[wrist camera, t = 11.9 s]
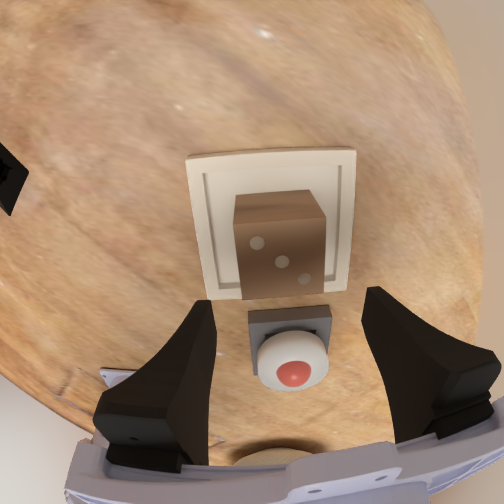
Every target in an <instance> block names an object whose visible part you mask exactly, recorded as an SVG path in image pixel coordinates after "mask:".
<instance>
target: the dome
mask: <svg viewBox="0 0 504 504" xmlns="http://www.w3.org/2000/svg"><path fill="white" fill-rule="evenodd" d="M257 363H258V377H259V380H260V381H261V383H262V384H263V385H265V386H266V387H268V388H270V389H273V390H276V391H282V392H294V391H300V390H304V389H307V388H310V387H312V386H314V385H315V384H317V383H318V382H320V381H321V380H322V379H323V378H324V377H325V376H326V374H327V372H328V370H329V362H328V358H327V354H326V350H325V346H324V343H323V342H322V340H321V339H320V338H319V337H318V336H316V335H314V334H312V333H310V332H306V331H297V330H296V331H286V332H282V333H279V334H276V335H274V336H272V337H270V338H269V339H267V340H266V341H265V342H264V343H263V344H262V345H261V346H260V348H259V350H258V353H257Z"/></svg>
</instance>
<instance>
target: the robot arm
mask: <svg viewBox="0 0 504 504" xmlns="http://www.w3.org/2000/svg"><path fill="white" fill-rule="evenodd" d="M361 322H362V325H363V329H364V333H365V336H366V339H367V342H368V344H369V347H370V349H371V352H372V354H373V356H374V359H375V361H376V363H377V366H378V368H379V371H380V373H381V376H382V379H383V382H384V385H385V389H386V393H387V397H388V401H389V406H390V411H391V416H392V422H393V428H394V435H395V444H394V443H391V442H387V441H385V442H378V443H373V444H368V445H363V446H359V447H354V448H348V449H343V450H337V451H331V452H324V453H317V454H312V455H307V456H303V457H300V458H298V459H295V460H293V461H292V462H290V463H288V464H276V465H259V466H209V460H208V415H209V395H210V388H211V381H212V375H213V369H214V363H215V357H216V345H217V331H216V326H215V321H214V315H213V310H212V305H211V300H197V301H196V302H195V304H194V305H193V307H192V309H191V310H190V312H189V313H188V315H187V316H186V318H185V319H184V321H183V322H182V324H181V325H180V326H179V328H178V329H177V330H176V332H175V333H174V334H173V336H172V337H171V338H170V339H169V340H168V342H167V343H166V344H165V345H164V346H163V347H162V349H161V350H160V351H159V352H158V353H157V354H156V355H155V356H154V357H153V358H152V359H151V360H150V361H148V362H147V363H146V364H145V365H144V366H143V367H141V368H140V369H139V370H138V371H126V370H112V369H100V371H99V373H100V375H101V376H102V378H103V380H104V381H105V383H106V384H107V386H108V387H109V389H108V390H106V391H104V392H103V393H102V395H101V397H100V399H99V402H98V405H97V407H96V410H95V413H94V416H93V424H94V425H95V427H96V429H95V432H94V435H93V438H92V439H91V440H89V439H87V438H85V439H84V440H80V441H79V442H78V444H77V446H76V449H75V452H74V455H73V458H72V461H71V465H70V468H69V472H68V476H67V480H66V484H65V492H64V494H65V497H66V502H67V503H68V504H431V502H430V499H429V496H430V495H433V494H435V493H437V492H439V491H442V490H444V489H446V488H448V487H450V486H452V485H454V484H456V483H458V482H460V481H462V480H464V479H466V478H468V477H470V476H472V475H473V474H475V473H477V472H479V471H481V470H483V469H484V468H486V467H488V466H490V465H491V464H493V463H495V462H496V461H498V460H500V459H501V458H503V457H504V396H503V397H501V398H499V399H497V400H496V401H494V402H493V403H492V404H491V403H490V401H489V399H490V397H491V394H490V392H489V391H488V390H489V389H490V387H491V386H492V384H493V383H494V381H495V380H496V378H497V377H498V375H499V373H500V371H501V363H500V361H499V360H498V359H497V357H496V355H495V354H494V352H493V351H491V350H487V349H484V348H480V347H477V346H474V345H471V344H468V343H465V342H463V341H460V340H458V339H456V338H454V337H452V336H450V335H447V334H445V333H444V332H442V331H440V330H438V329H437V328H435V327H433V326H431V325H430V324H428V323H427V322H425V321H424V320H422V319H421V318H419V317H418V316H417V315H415V314H414V313H412V312H411V311H410V310H409V309H407V308H406V307H405V306H403V305H402V304H401V303H400V302H398V301H397V300H396V299H395V298H394V297H392V296H391V295H390V294H389V293H387V292H386V291H385V290H384V289H382V288H381V287H380V286H376V287H367V292H366V298H365V303H364V309H363V314H362V319H361Z"/></svg>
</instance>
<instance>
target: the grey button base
mask: <svg viewBox="0 0 504 504" xmlns="http://www.w3.org/2000/svg"><path fill="white" fill-rule="evenodd" d="M331 323H332V314H331V311H330V308H329V305H322V306H311V307H300V308H288V309H274V310H260V311H248V324H249V334H250V343H251V352H252V361H253V371H254V375H258V363H257V353H258V350H259V348H260V346H261V345H262V344H263V343H264V342H265V341H266V340H267V339H269V338H270V337H272V336H274V335H276V334H279V333H282V332H286V331H296V330H297V331H306V332H310V333H312V334H314V335H316V336H318V337H319V338H320V339H321V340H322V342H323V343H324V346H325V350H326V354H327V353H328V346H329V339H330V331H331Z"/></svg>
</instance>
